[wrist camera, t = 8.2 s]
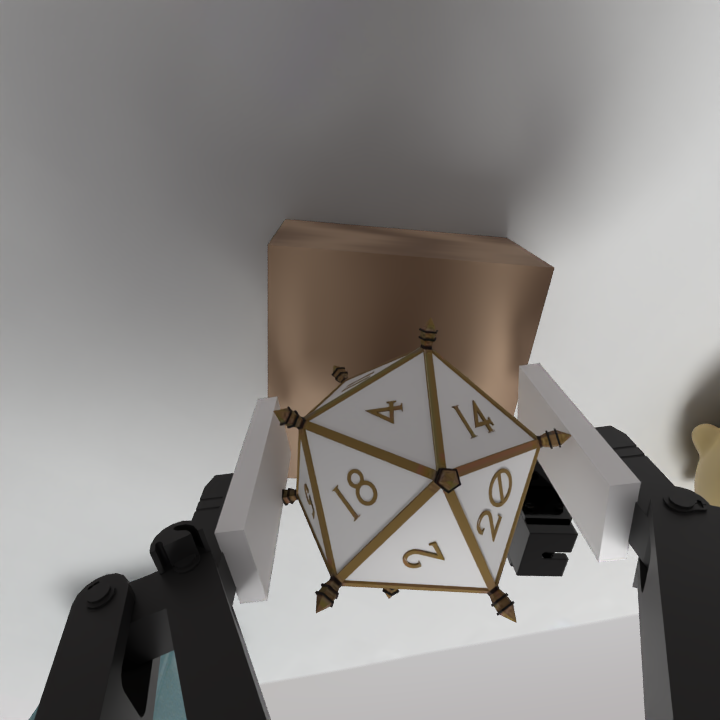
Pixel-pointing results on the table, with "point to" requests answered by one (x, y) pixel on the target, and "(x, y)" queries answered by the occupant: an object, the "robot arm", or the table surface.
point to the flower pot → (165, 691)
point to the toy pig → (708, 462)
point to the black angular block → (542, 530)
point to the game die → (413, 478)
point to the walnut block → (396, 307)
